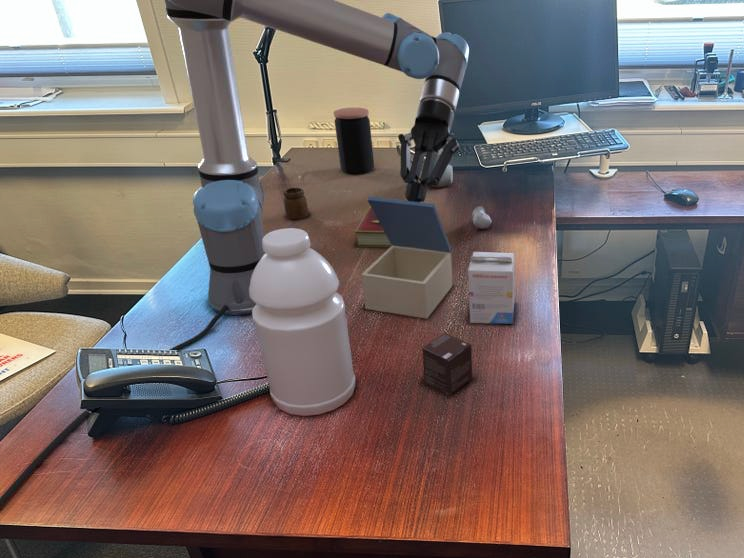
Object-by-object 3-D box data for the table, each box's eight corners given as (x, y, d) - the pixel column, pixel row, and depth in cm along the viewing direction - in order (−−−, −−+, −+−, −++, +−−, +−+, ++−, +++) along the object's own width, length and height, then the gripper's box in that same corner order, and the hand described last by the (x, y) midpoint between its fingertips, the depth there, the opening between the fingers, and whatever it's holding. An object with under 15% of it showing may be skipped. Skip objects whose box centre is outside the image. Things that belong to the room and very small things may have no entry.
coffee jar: (381, 168, 208) (375, 109, 198) (359, 177, 200) (352, 117, 190) (356, 163, 213) (349, 105, 202) (333, 171, 205) (325, 113, 195)
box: (447, 367, 114) (445, 331, 110) (473, 379, 111) (472, 343, 107) (423, 383, 110) (420, 347, 106) (449, 396, 107) (448, 359, 103)
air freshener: (426, 178, 199) (425, 145, 193) (453, 178, 199) (452, 145, 193) (422, 190, 190) (420, 156, 184) (450, 190, 190) (449, 156, 184)
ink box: (515, 304, 133) (516, 244, 125) (512, 325, 126) (514, 262, 118) (473, 302, 133) (472, 242, 126) (468, 323, 126) (467, 261, 119)
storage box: (427, 318, 128) (424, 283, 124) (365, 308, 132) (361, 274, 127) (452, 286, 140) (451, 253, 135) (394, 277, 143) (391, 245, 139)
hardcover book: (418, 215, 174) (417, 200, 171) (405, 247, 156) (403, 231, 154) (374, 214, 175) (373, 199, 172) (356, 246, 157) (354, 230, 155)
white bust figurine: (489, 235, 165) (470, 230, 164) (488, 222, 172) (469, 217, 171) (495, 220, 163) (475, 214, 162) (493, 207, 169) (474, 202, 168)
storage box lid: (432, 207, 121) (434, 203, 121) (367, 199, 125) (368, 196, 125) (450, 252, 135) (451, 249, 135) (391, 244, 138) (392, 241, 139)
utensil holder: (310, 218, 173) (303, 173, 166) (286, 221, 171) (278, 176, 164) (307, 210, 177) (300, 167, 171) (283, 213, 176) (275, 170, 169)
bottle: (303, 361, 116) (274, 212, 100) (371, 377, 112) (352, 224, 96) (254, 406, 105) (213, 248, 89) (326, 426, 101) (297, 263, 85)
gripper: (471, 121, 134) (446, 226, 130) (413, 116, 138) (387, 219, 134) (462, 99, 127) (435, 210, 123) (401, 95, 130) (373, 203, 127)
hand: (410, 215), depth 129 cm, fingers closed
